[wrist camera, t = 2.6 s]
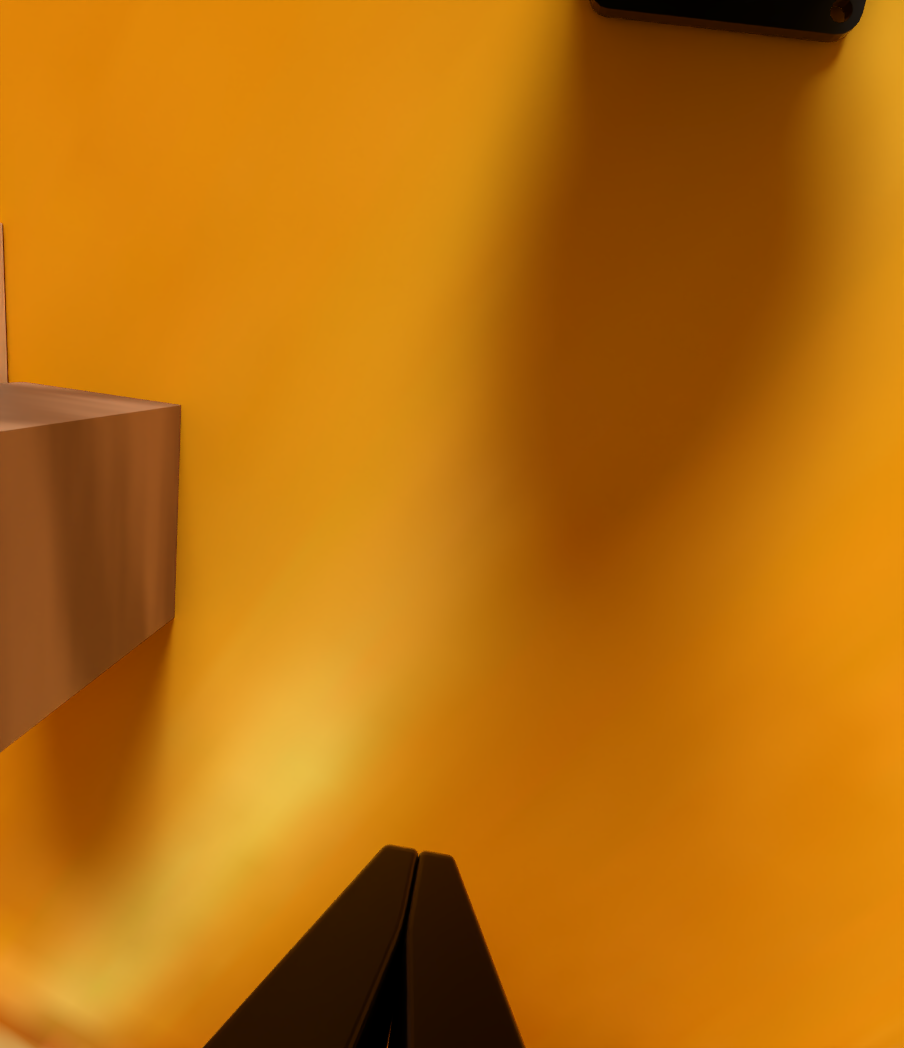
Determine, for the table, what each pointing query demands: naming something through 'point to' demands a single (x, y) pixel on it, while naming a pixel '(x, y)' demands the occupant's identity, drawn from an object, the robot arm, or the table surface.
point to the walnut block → (80, 539)
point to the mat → (2, 317)
